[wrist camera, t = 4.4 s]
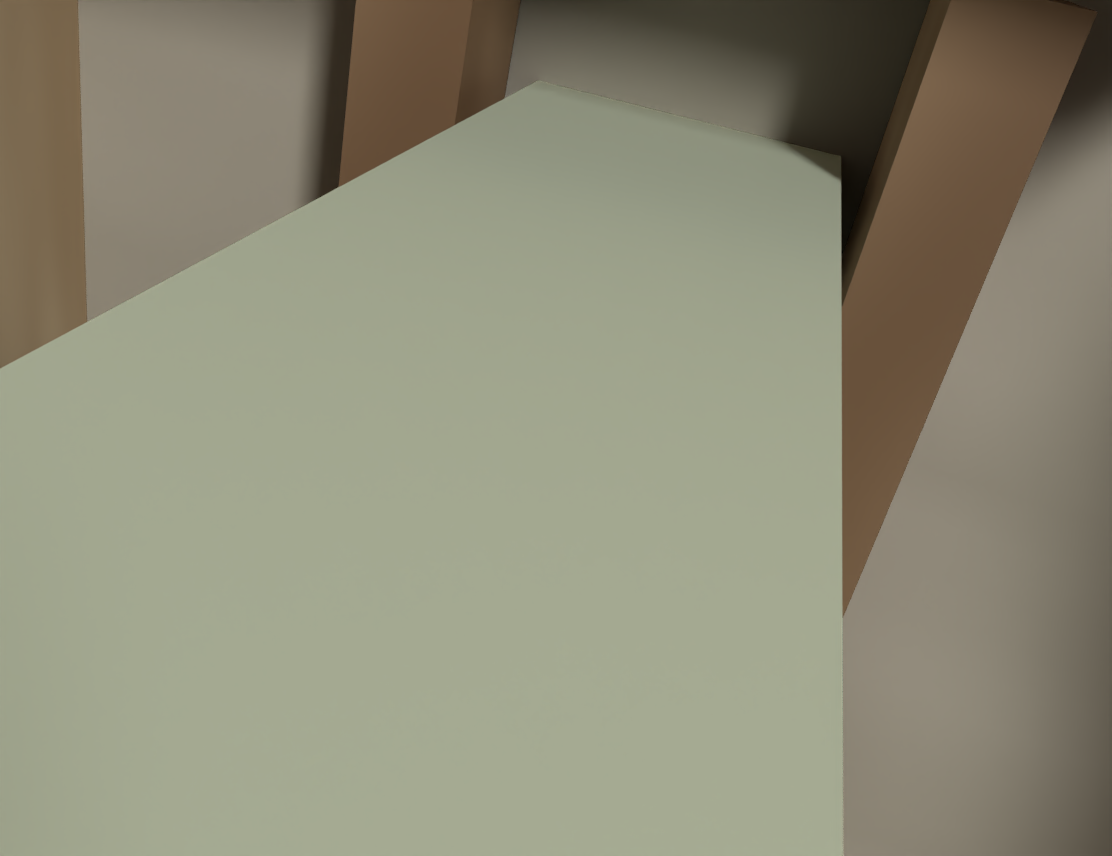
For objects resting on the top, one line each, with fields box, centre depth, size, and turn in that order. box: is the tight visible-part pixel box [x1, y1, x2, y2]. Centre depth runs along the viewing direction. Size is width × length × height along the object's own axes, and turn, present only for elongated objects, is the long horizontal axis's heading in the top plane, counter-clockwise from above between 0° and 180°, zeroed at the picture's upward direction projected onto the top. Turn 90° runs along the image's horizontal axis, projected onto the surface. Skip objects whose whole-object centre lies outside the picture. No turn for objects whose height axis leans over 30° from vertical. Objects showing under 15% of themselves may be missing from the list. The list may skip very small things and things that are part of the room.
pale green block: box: [0, 81, 843, 856], centre depth 8 cm, size 3×9×10 cm, turn 169°
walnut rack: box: [339, 0, 1098, 618], centre depth 11 cm, size 15×17×3 cm
